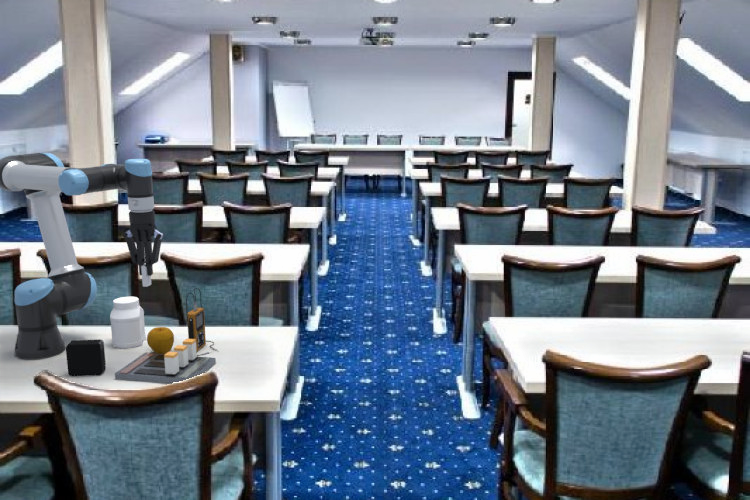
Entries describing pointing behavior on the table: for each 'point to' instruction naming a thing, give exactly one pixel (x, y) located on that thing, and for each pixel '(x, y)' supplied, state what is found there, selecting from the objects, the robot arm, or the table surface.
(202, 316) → the multimeter
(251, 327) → the table surface
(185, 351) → the block
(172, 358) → the breaker near
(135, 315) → the jar
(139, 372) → the panel
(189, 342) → the breaker far
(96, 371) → the electronic device
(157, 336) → the apple
